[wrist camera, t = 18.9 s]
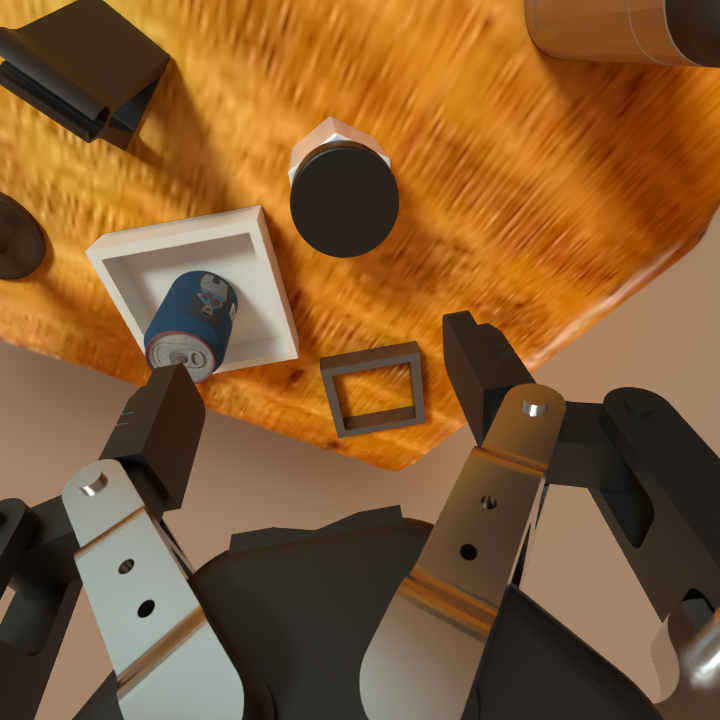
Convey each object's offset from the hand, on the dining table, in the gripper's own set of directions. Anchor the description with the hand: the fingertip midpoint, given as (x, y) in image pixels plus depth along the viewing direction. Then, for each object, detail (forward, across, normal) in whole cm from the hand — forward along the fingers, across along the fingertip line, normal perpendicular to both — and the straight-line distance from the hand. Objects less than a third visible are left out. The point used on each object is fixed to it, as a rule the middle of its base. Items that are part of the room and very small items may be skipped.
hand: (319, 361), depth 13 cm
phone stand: (+33, -15, +8) cm, 37 cm away
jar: (+33, +2, -2) cm, 33 cm away
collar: (+33, +2, -30) cm, 45 cm away
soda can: (+32, -14, -12) cm, 37 cm away
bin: (+33, -14, -12) cm, 38 cm away
